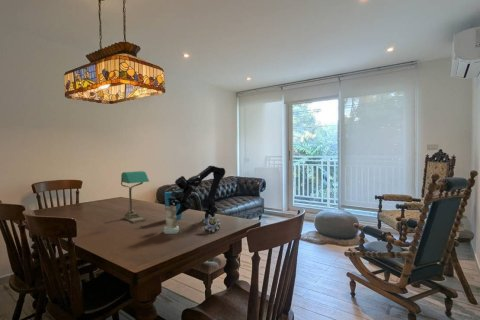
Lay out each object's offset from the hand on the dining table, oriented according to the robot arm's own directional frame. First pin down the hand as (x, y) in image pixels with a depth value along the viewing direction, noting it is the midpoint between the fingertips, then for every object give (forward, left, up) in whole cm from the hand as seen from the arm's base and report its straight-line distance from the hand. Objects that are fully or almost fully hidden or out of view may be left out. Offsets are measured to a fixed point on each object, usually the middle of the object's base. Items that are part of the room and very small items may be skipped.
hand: (171, 214), depth 167 cm
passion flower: (-23, -8, -11) cm, 26 cm away
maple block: (0, +1, -8) cm, 8 cm away
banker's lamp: (+41, -19, -11) cm, 47 cm away
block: (+13, -26, -11) cm, 32 cm away
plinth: (0, +1, -11) cm, 11 cm away
